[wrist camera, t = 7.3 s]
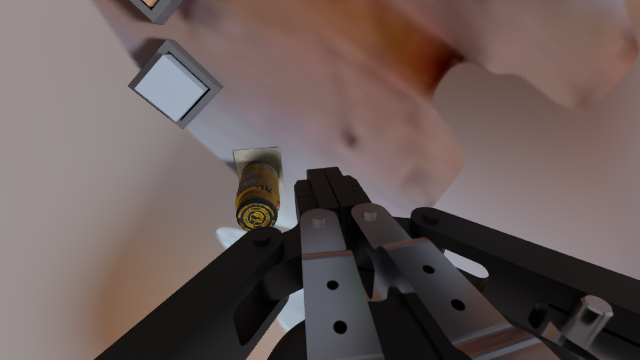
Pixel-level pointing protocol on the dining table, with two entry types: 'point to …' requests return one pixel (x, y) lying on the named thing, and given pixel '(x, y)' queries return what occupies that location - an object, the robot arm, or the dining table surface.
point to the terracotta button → (151, 2)
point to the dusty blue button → (171, 87)
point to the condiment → (258, 187)
